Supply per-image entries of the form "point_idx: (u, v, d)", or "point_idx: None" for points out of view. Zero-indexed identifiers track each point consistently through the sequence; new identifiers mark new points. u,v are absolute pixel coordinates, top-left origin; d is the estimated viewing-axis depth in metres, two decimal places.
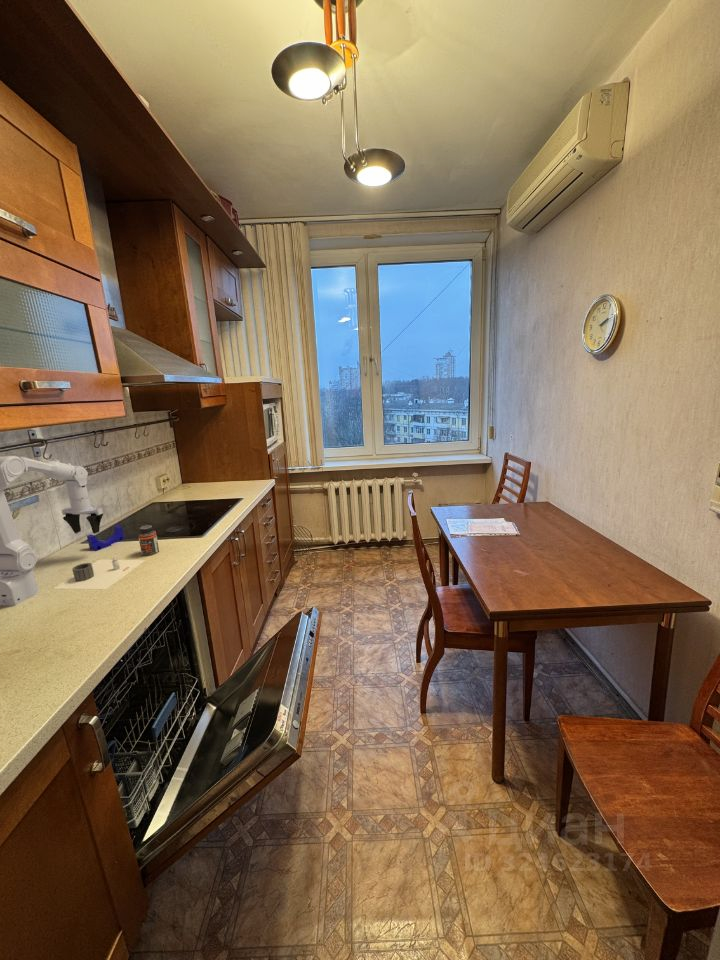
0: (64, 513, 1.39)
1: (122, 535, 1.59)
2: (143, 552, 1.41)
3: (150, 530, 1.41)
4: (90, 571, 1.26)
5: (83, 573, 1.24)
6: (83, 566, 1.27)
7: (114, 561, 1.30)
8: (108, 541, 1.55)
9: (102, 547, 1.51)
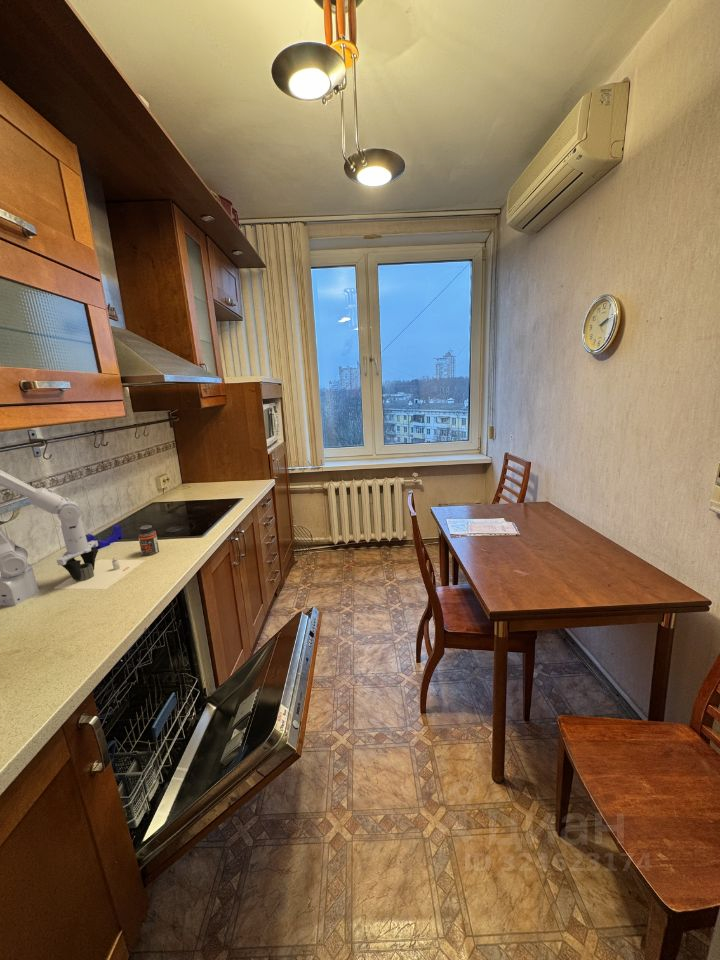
0: None
1: (120, 534, 1.59)
2: (143, 552, 1.41)
3: (150, 530, 1.41)
4: (90, 571, 1.26)
5: (83, 573, 1.24)
6: (83, 566, 1.27)
7: (114, 561, 1.30)
8: (107, 541, 1.55)
9: (101, 547, 1.51)
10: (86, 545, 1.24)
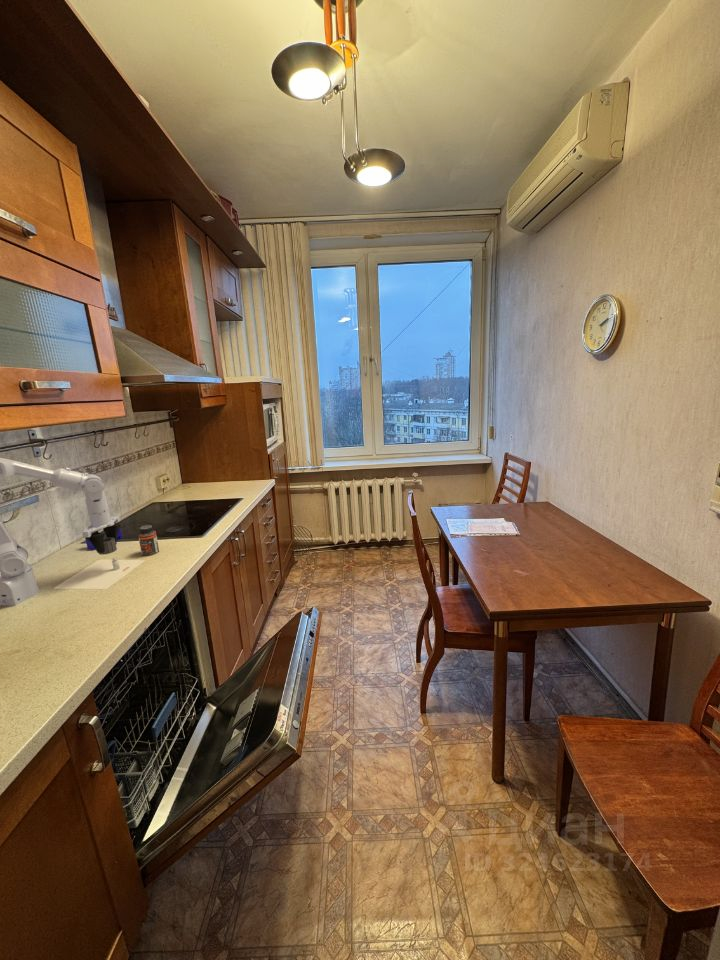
0: None
1: (119, 534, 1.59)
2: (143, 552, 1.41)
3: (150, 530, 1.41)
4: (113, 545, 1.28)
5: (107, 546, 1.27)
6: (106, 540, 1.30)
7: (114, 561, 1.30)
8: None
9: None
10: (109, 518, 1.26)
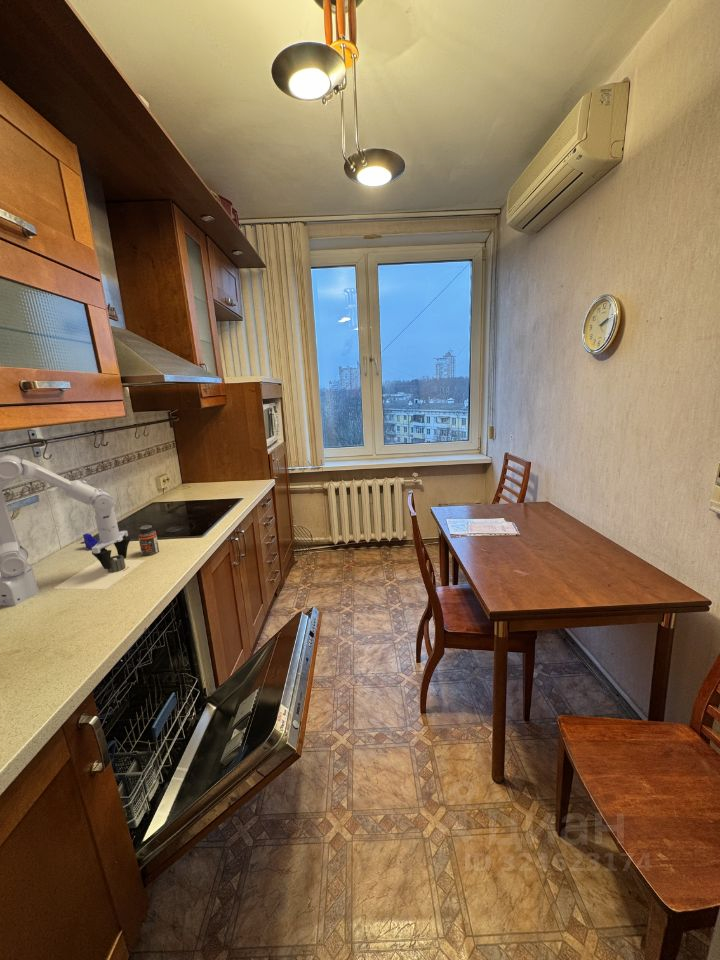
0: None
1: None
2: (143, 552, 1.41)
3: (150, 530, 1.41)
4: (122, 563, 1.31)
5: (116, 565, 1.29)
6: None
7: None
8: None
9: None
10: (118, 534, 1.29)
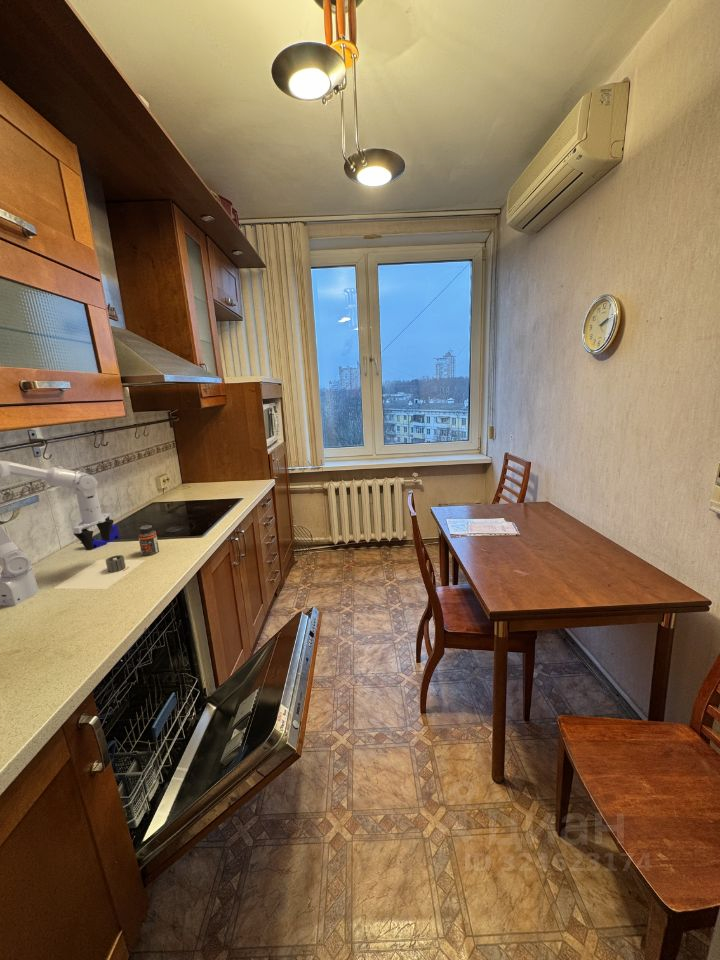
0: None
1: (117, 534, 1.60)
2: (143, 552, 1.41)
3: (150, 530, 1.41)
4: (122, 563, 1.31)
5: (116, 565, 1.29)
6: None
7: None
8: None
9: (98, 546, 1.52)
10: (100, 515, 1.29)
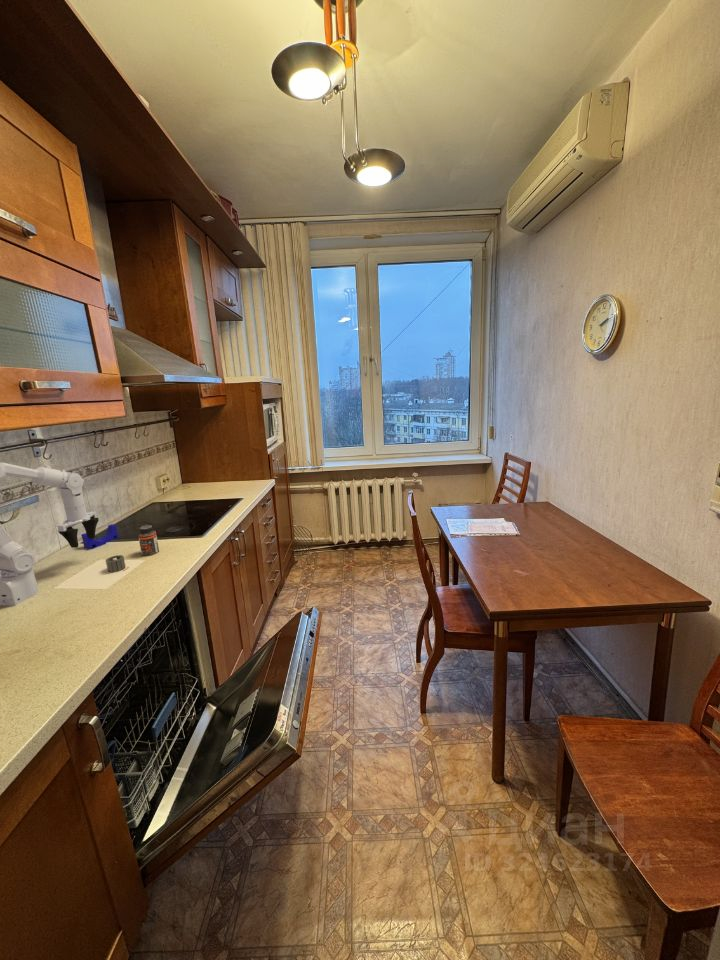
0: None
1: (116, 533, 1.61)
2: (143, 552, 1.41)
3: (150, 530, 1.41)
4: (122, 563, 1.31)
5: (116, 565, 1.29)
6: None
7: None
8: (102, 540, 1.56)
9: (97, 545, 1.53)
10: (85, 513, 1.31)
